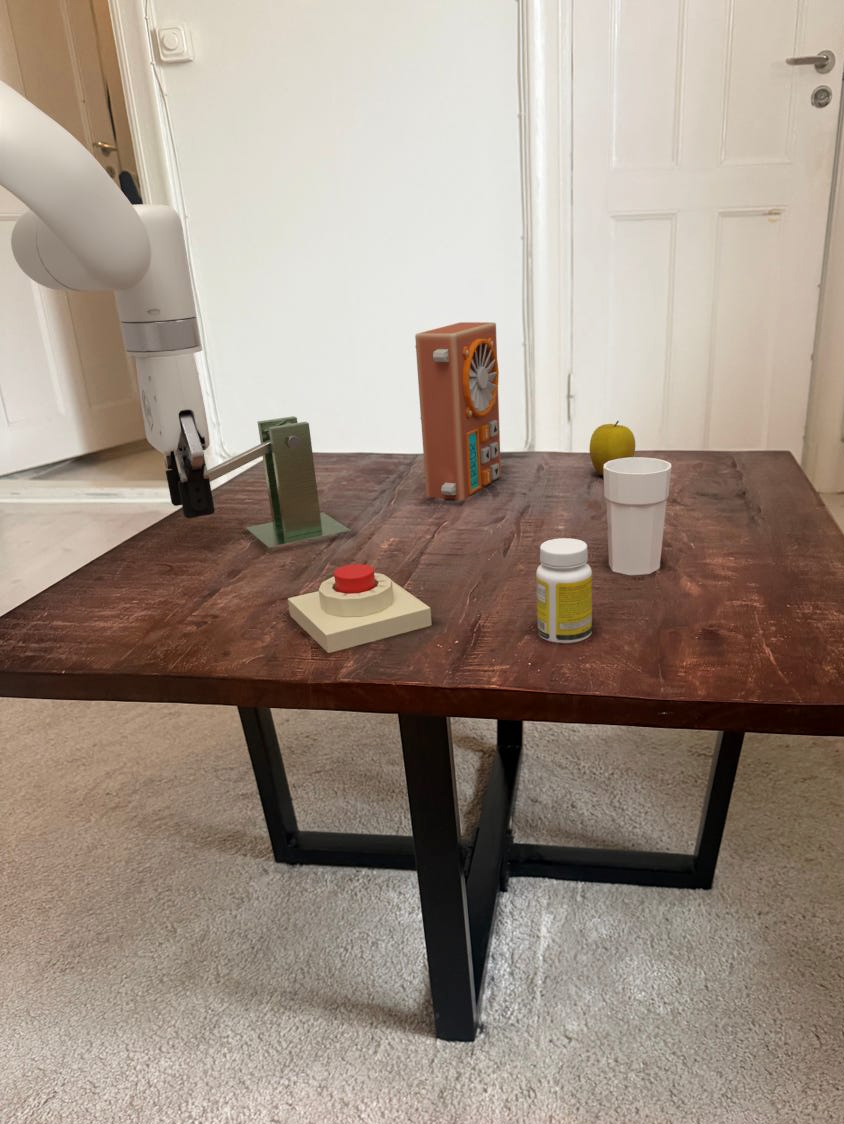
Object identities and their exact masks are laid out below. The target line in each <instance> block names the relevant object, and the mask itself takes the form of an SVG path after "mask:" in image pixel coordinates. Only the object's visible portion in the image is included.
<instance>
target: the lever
mask: <svg viewBox="0 0 844 1124" xmlns="http://www.w3.org/2000/svg"><path fill="white" fill-rule="evenodd" d="M286 424H292V423H290V422H287V423H285V424H283V425H286ZM267 433H268V435H269V438H270V434H269V432H267ZM271 451H272V448H271V441H270V440H268V441H265V442H263V443H261V442H260V444H258V445H256V446H253V447H252V448H250V449H248V450H246V451H243V452H241V453H239V454H237V455H235V456H233V457H230V458H229V459H228V460H225V461H223V462H221V463H220V464H217V465H214V466H213V467H211V468H209V469H207V471H208V477H209V480H210V483H211V482H213V481H215V480H217V479H219V478H221V477H223V476H225V475H227V474H229V473H231V472H233V471H235V470H237V469H239V468H241V467H244V466H245V465H247V464H249V463H250V462H252V461H255V460H257V459H259V458H261V457H263V455H265V454H267V453H269V452H271ZM178 481H181V479H180V477H179V478H178Z"/></svg>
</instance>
